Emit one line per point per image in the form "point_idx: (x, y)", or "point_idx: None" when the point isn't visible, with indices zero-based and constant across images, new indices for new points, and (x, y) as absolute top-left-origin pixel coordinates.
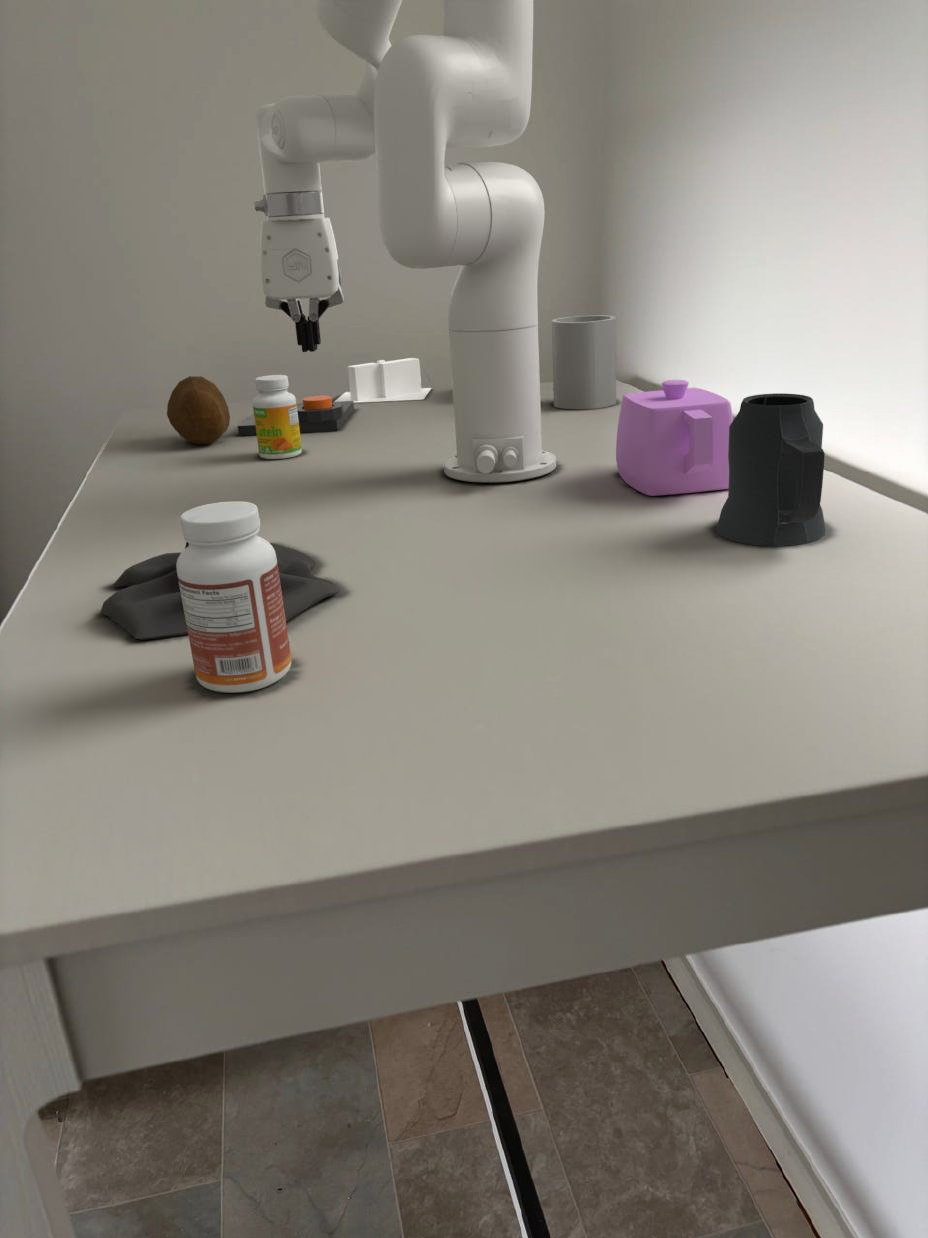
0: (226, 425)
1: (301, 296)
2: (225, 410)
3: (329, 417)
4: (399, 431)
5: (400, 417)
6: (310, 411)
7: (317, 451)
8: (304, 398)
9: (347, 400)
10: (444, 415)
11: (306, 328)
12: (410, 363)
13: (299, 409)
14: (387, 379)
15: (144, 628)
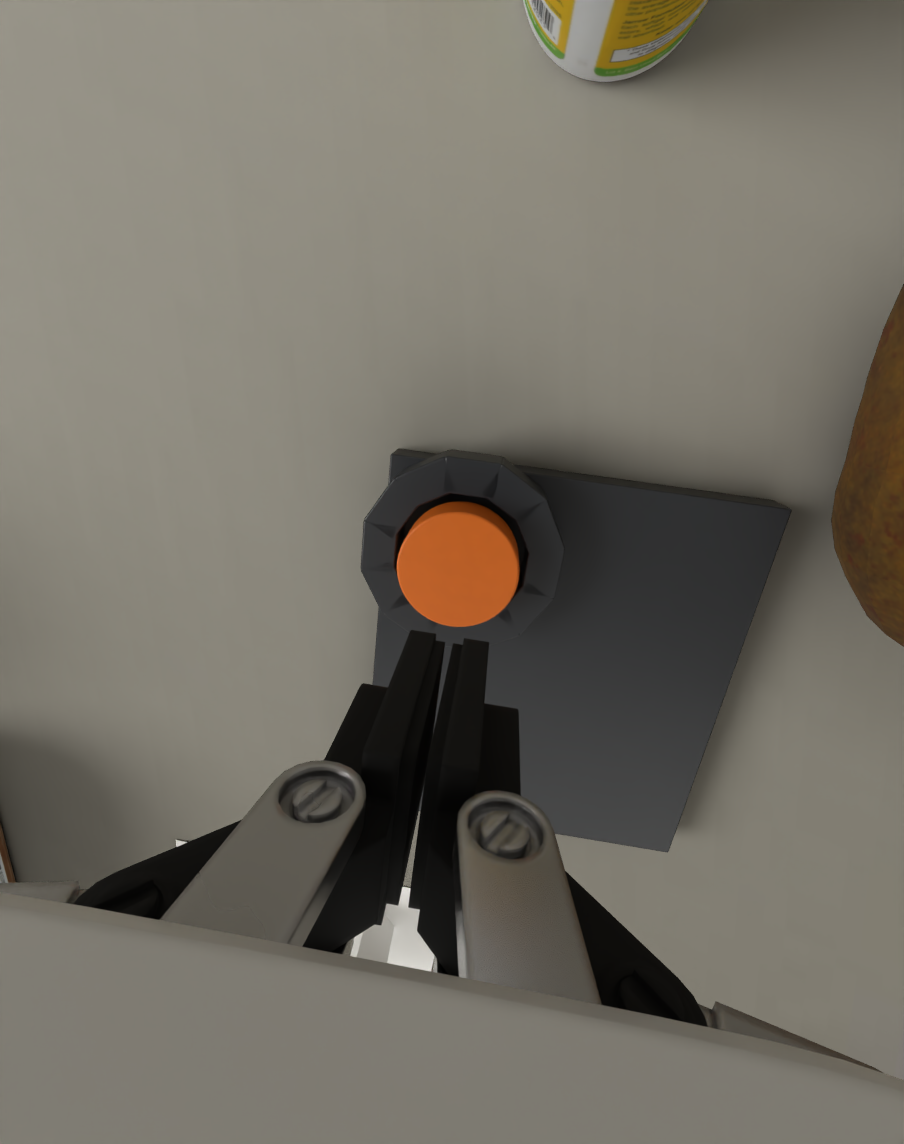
0: (864, 402)
1: (331, 958)
2: (902, 415)
3: (415, 464)
4: (165, 346)
5: (203, 603)
6: (486, 462)
7: (453, 9)
8: (511, 586)
9: (403, 918)
10: (61, 576)
11: (420, 724)
12: None
13: (535, 522)
14: None
15: None
